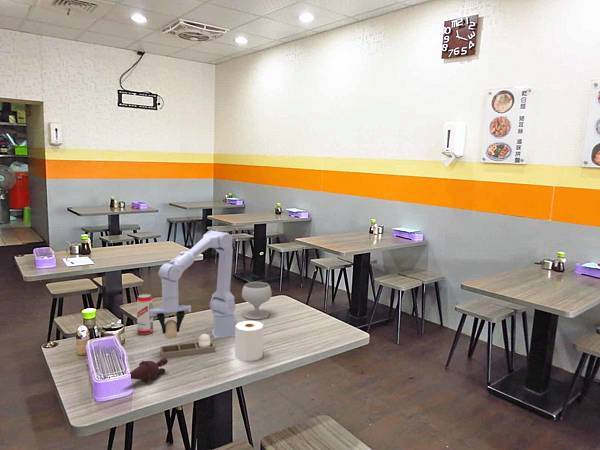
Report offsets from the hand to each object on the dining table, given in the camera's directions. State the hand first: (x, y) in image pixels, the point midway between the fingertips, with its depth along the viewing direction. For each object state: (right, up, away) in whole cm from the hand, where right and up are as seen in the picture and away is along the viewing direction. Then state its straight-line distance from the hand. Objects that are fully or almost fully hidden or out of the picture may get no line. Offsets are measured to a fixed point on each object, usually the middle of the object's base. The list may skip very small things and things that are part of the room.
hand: (170, 331), depth 162 cm
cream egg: (+11, -8, +5) cm, 15 cm away
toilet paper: (+29, -10, +2) cm, 30 cm away
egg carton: (+6, -9, +3) cm, 11 cm away
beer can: (-17, -6, +22) cm, 28 cm away
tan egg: (0, -2, 0) cm, 2 cm away
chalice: (+27, -4, +46) cm, 53 cm away
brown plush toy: (-2, -12, -18) cm, 22 cm away
